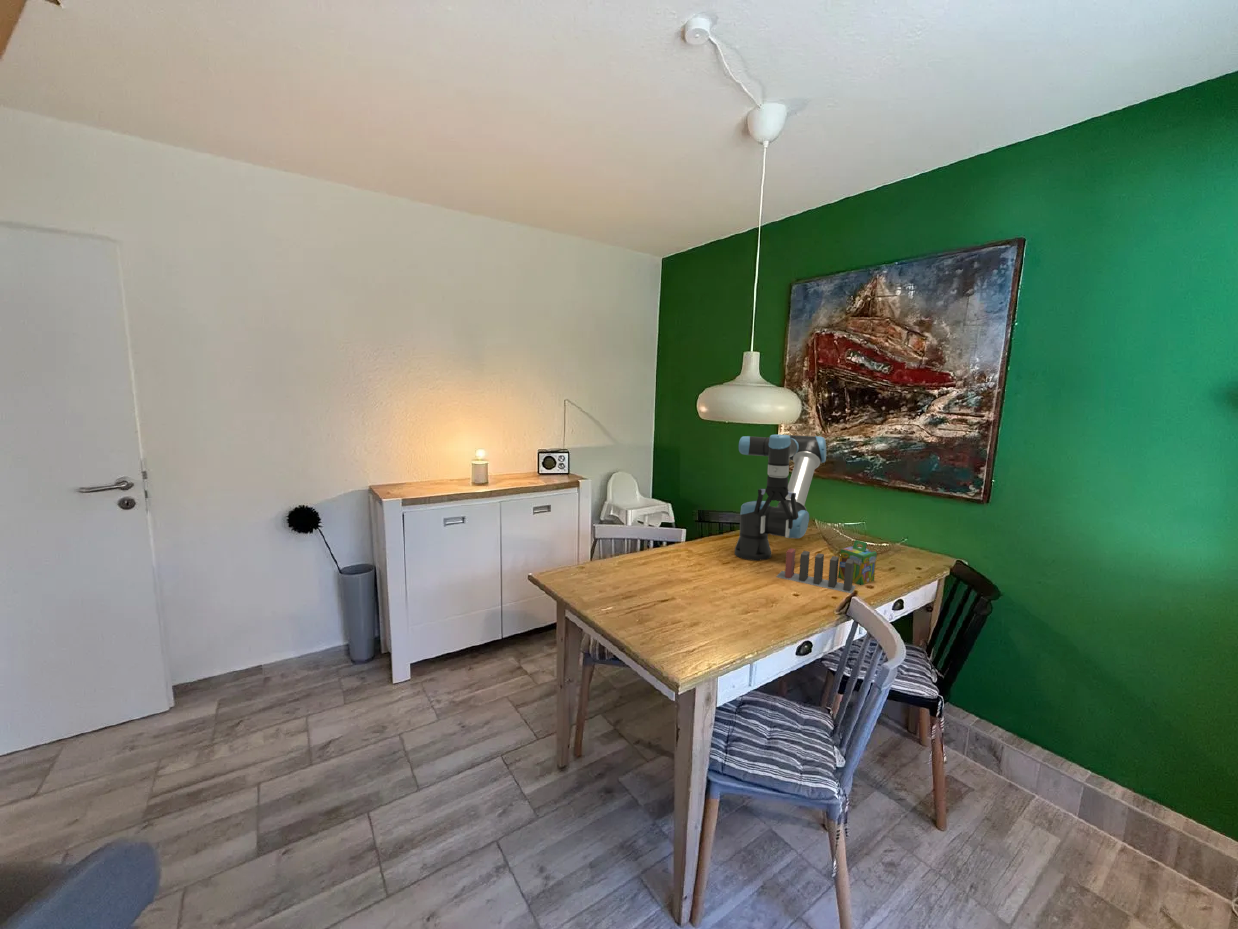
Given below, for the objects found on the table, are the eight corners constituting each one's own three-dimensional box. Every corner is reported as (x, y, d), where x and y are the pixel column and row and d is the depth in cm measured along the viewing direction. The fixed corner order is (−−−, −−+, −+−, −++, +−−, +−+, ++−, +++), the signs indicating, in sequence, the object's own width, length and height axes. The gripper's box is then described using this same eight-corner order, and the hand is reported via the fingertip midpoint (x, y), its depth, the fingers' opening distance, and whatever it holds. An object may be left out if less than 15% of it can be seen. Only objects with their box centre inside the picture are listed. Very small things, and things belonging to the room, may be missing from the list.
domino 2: (798, 580, 174) (800, 554, 172) (802, 576, 178) (804, 550, 176) (804, 581, 173) (806, 555, 171) (808, 577, 177) (809, 551, 175)
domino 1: (784, 577, 177) (786, 551, 175) (788, 573, 181) (790, 548, 179) (790, 578, 175) (791, 552, 174) (793, 574, 180) (795, 549, 178)
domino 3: (813, 583, 171) (815, 556, 169) (816, 579, 175) (818, 553, 174) (819, 584, 170) (820, 558, 168) (822, 580, 174) (824, 554, 172)
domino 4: (828, 586, 168) (830, 559, 167) (830, 582, 172) (832, 555, 171) (834, 588, 167) (836, 560, 165) (836, 583, 171) (838, 557, 170)
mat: (775, 577, 177) (775, 576, 177) (782, 571, 184) (782, 570, 183) (851, 594, 162) (852, 593, 162) (855, 587, 169) (855, 586, 169)
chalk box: (837, 578, 177) (840, 540, 175) (851, 573, 182) (854, 536, 180) (861, 587, 169) (864, 547, 167) (875, 581, 174) (878, 543, 172)
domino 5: (843, 590, 165) (845, 562, 164) (845, 585, 169) (848, 558, 168) (849, 591, 164) (851, 563, 163) (852, 586, 168) (854, 559, 167)
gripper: (746, 474, 179) (743, 532, 183) (805, 480, 167) (801, 542, 170) (753, 472, 185) (750, 527, 189) (810, 477, 173) (806, 537, 177)
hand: (774, 534), depth 180 cm, fingers open, 9 cm apart
